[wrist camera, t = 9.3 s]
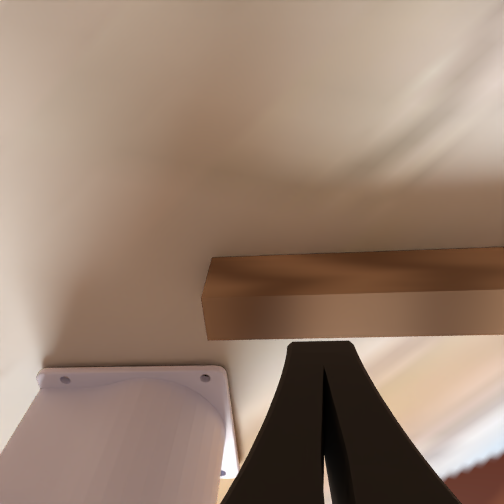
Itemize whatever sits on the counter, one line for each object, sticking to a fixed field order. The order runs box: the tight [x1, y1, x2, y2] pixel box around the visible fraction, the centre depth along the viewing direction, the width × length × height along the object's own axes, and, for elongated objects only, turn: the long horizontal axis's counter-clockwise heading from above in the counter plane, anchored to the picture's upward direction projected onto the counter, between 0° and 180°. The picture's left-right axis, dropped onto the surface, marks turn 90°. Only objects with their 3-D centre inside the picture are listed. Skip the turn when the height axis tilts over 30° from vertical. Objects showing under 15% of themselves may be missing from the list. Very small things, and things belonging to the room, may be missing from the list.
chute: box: [201, 247, 504, 340], centre depth 15 cm, size 17×17×4 cm
